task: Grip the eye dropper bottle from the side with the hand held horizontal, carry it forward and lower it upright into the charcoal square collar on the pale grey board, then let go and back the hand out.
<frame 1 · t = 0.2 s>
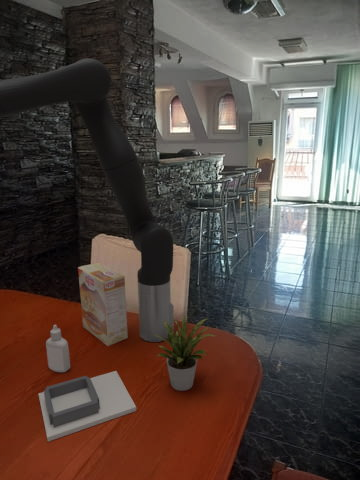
eye dropper bottle: (59, 368, 93), on the table
bottle holder: (72, 408, 79), on the table
house plant: (187, 383, 87), on the table
coffeecake box: (104, 332, 110), on the table
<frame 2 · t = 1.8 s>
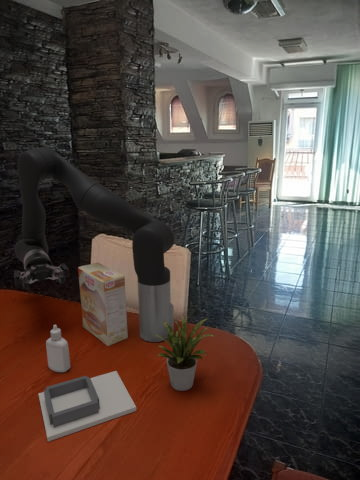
hand: (45, 283, 97), 19 cm above the table, tool horizontal, fingers open, 8 cm apart
nothing on the table moved.
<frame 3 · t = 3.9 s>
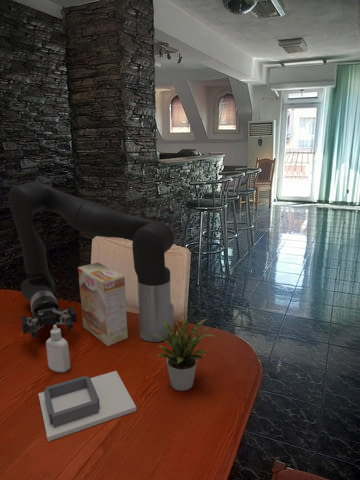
hand: (52, 331, 97), 7 cm above the table, tool horizontal, fingers open, 8 cm apart
nothing on the table moved.
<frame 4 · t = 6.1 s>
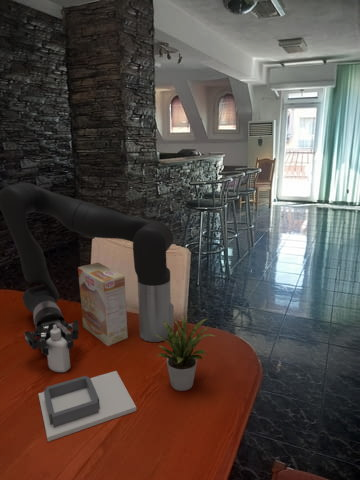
hand: (58, 348, 89), 7 cm above the table, tool horizontal, fingers closed on eye dropper bottle, 4 cm apart
eye dropper bottle: (59, 368, 93), on the table, touching gripper
everything else where it was.
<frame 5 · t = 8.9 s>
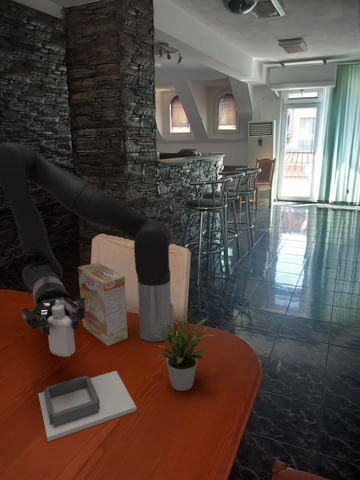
hand: (61, 328, 75), 19 cm above the table, tool horizontal, fingers closed on eye dropper bottle, 4 cm apart
eye dropper bottle: (62, 352, 79), point 12 cm above the table, touching gripper
everything else where it was.
when the fingers open (9 cm above the table, at t = 12.1 s): eye dropper bottle stays where it is, resting on bottle holder.
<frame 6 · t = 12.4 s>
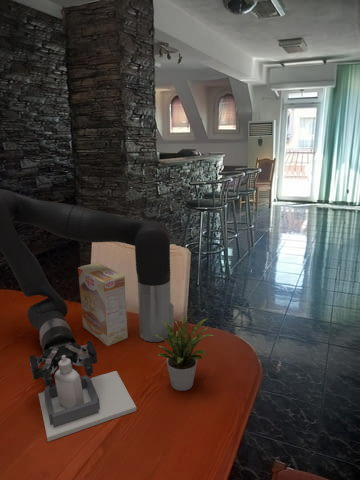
hand: (70, 378, 75), 9 cm above the table, tool horizontal, fingers open, 7 cm apart
eye dropper bottle: (72, 404, 79), point 1 cm above the table, touching bottle holder
everything else where it was.
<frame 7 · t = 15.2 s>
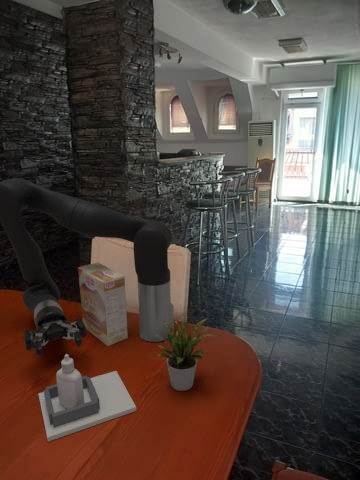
hand: (60, 348, 86), 9 cm above the table, tool horizontal, fingers open, 8 cm apart
nothing on the table moved.
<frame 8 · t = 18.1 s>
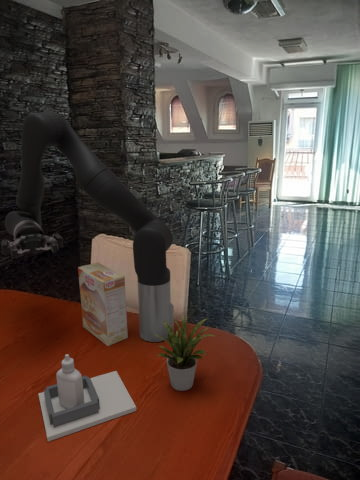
hand: (35, 251, 88), 30 cm above the table, tool horizontal, fingers open, 8 cm apart
nothing on the table moved.
at the end: eye dropper bottle 0.1 cm off-centre on the bottle holder, point 0.8 cm above the bottle holder's base; eye dropper bottle tilted 0°; the gripper is holding nothing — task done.
